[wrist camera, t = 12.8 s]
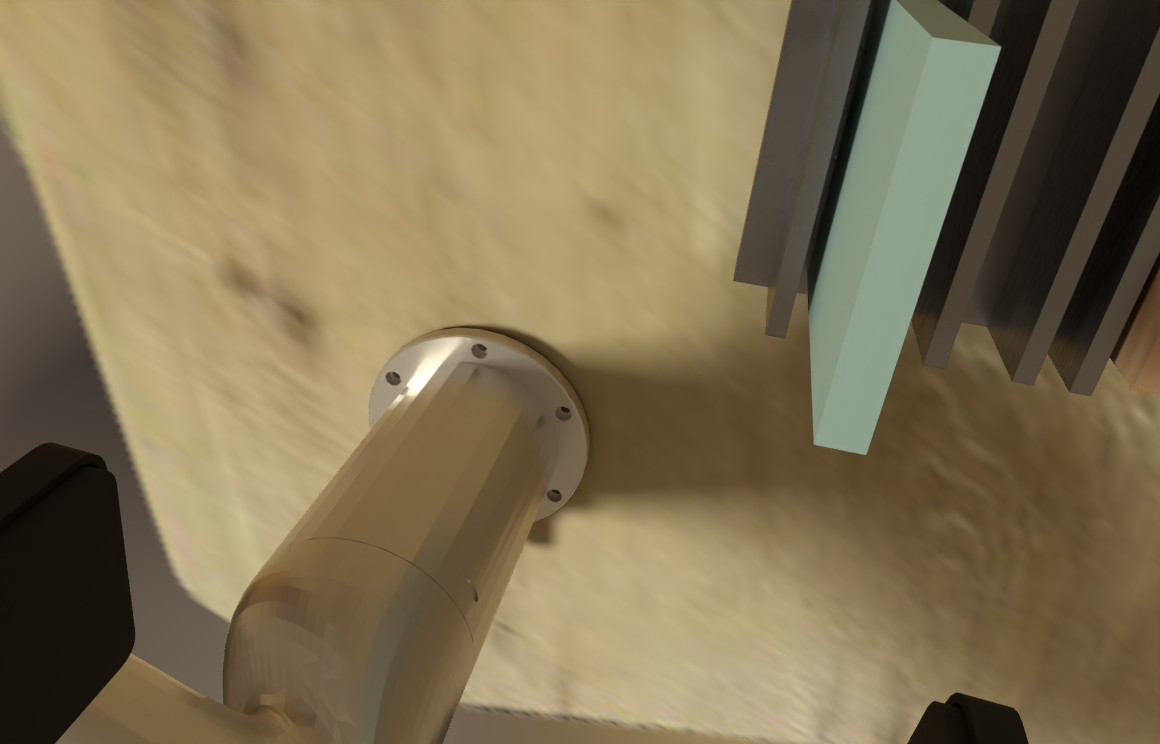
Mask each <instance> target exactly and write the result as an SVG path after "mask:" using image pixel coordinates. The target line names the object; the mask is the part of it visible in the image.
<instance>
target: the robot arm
mask: <svg viewBox="0 0 1160 744" xmlns="http://www.w3.org/2000/svg"><path fill="white" fill-rule="evenodd" d="M481 344H482V345H484V346H485V347H484V346H482V345H481ZM565 407H566V408H565ZM369 425H370V429H371V430H370V432H369V433H368V434H367V435H366V437H365V438H364V439H363V441H362V442H361V443H360V444H359V446H358V447H357V448H356V449H355V451H354V452H353V453H352V454H351V456H350V457H349V458H348V459H347V461H346V462H345V463H344V465H343V466H342V467H341V468H340V470H339V471H338V472H337V473H336V475H335V476H334V477H333V478H332V480H331V481H330V482H329V484H328V485H327V486H326V487H325V489H324V490H323V491H322V492H321V494H320V495H319V496H318V497H317V499H316V500H315V501H314V502H313V504H312V505H311V506H310V508H309V509H308V510H307V511H306V513H305V514H304V515H303V516H302V518H301V519H300V520H299V521H298V523H297V524H296V525H295V526H294V528H293V529H292V530H291V532H290V533H289V534H288V535H287V537H286V538H285V539H284V540H283V542H282V543H281V544H280V545H279V547H278V548H277V549H276V551H275V552H274V553H273V555H272V556H271V557H270V559H269V560H268V561H267V562H266V563H265V565H264V566H263V567H262V568H261V570H260V571H259V572H258V574H257V575H256V576H255V577H254V579H253V580H252V581H251V583H250V584H249V586H248V587H247V589H246V590H245V592H244V593H243V595H242V597H241V599H240V601H239V603H238V605H237V607H236V610H235V612H234V614H233V617H232V620H231V623H230V626H229V630H228V634H227V638H226V642H225V649H224V659H223V671H222V686H223V687H222V690H223V704H221V703H219V702H217V701H215V700H213V699H212V698H210V697H204V696H203V695H201V694H199V693H197V692H196V691H194V690H192V689H190V688H189V687H187V686H185V685H184V684H182V683H180V682H179V681H177V680H175V679H173V678H172V677H170V676H168V675H167V674H165V673H163V672H161V671H160V670H158V669H156V668H155V667H153V666H151V665H150V664H148V663H146V662H145V661H143V660H141V659H139V658H138V657H136V656H134V655H132V654H131V651H132V649H133V646H134V642H135V627H134V619H133V611H132V602H131V594H130V587H129V579H128V571H127V563H126V555H125V547H124V539H123V531H122V523H121V515H120V507H119V499H118V491H117V483H116V479H115V476H114V475H113V474H112V473H111V472H108V471H107V467H106V464H105V461H104V460H103V459H102V458H101V457H100V456H98V455H95V454H92V453H88V452H85V451H81V450H77V449H74V448H70V447H66V446H62V445H59V444H56V443H52V442H51V443H45V444H42V445H40V446H38V447H36V448H35V449H33V450H32V451H30V452H29V453H27V454H26V455H25V456H23V457H22V458H20V459H19V460H18V461H16V462H15V463H13V464H12V465H11V466H9V467H8V468H6V469H5V470H4V471H2V472H1V473H0V744H443V742H444V739H445V737H446V734H447V731H448V729H449V726H450V724H451V721H452V718H453V716H454V713H455V711H456V709H457V706H458V704H459V701H460V699H461V696H462V694H463V691H464V689H465V687H466V684H467V682H468V679H469V677H470V675H471V673H472V670H473V668H474V665H475V663H476V660H477V658H478V656H479V653H480V651H481V648H482V646H483V643H484V641H485V639H486V636H487V634H488V631H489V629H490V626H491V624H492V622H493V619H494V617H495V614H496V612H497V609H498V607H499V605H500V602H501V600H502V597H503V595H504V592H505V590H506V588H507V585H508V583H509V580H510V578H511V575H512V573H513V571H514V568H515V566H516V563H517V561H518V559H519V556H520V554H521V551H522V549H523V546H524V544H525V542H526V539H527V537H528V534H529V532H530V529H531V527H532V525H533V523H534V522H536V521H538V520H540V519H543V518H545V517H547V516H549V515H551V514H552V513H553V512H555V511H556V510H558V509H559V508H560V507H562V506H563V505H564V504H565V503H566V502H567V500H568V499H569V498H570V497H571V496H572V495H573V494H574V492H575V490H576V489H577V487H578V485H579V483H580V481H581V479H582V477H583V474H584V471H585V468H586V465H587V462H588V456H589V449H590V436H589V425H588V422H587V419H586V415H585V412H584V409H583V406H582V404H581V402H580V400H579V398H578V397H577V395H576V393H575V391H574V389H573V387H572V386H571V385H570V384H569V382H568V381H567V380H566V379H565V377H564V376H563V375H562V374H561V372H560V371H559V370H558V369H557V368H556V367H555V366H553V365H552V364H551V363H550V362H549V361H548V360H547V359H546V358H544V357H543V356H542V355H541V354H539V353H537V352H536V351H534V350H533V349H531V348H530V347H528V346H526V345H525V344H523V343H521V342H519V341H516V340H514V339H512V338H509V337H507V336H505V335H502V334H498V333H494V332H490V331H486V330H482V329H470V328H452V329H444V330H437V331H434V332H431V333H428V334H425V335H422V336H419V337H417V338H416V339H414V340H412V341H411V342H409V343H407V344H406V345H404V346H403V347H402V348H401V349H400V350H399V351H398V352H397V353H396V354H395V355H394V356H392V357H391V358H390V360H389V361H388V362H387V363H386V364H385V366H384V367H383V368H382V369H381V371H380V372H379V374H378V377H377V379H376V381H375V383H374V385H373V387H372V391H371V396H370V401H369ZM908 744H1029V743H1028V740H1027V736H1026V733H1025V730H1024V726H1023V723H1022V721H1021V718H1020V716H1019V714H1018V712H1017V711H1016V710H1015V709H1014V708H1012V707H1008V706H1004V705H1001V704H997V703H994V702H990V701H986V700H983V699H979V698H975V697H972V696H968V695H965V694H961V693H955V694H953V695H951V696H950V697H949V699H948V700H947V701H946V703H945V704H944V703H940V702H936V701H934V702H932V703H930V705H929V706H928V708H927V709H926V711H925V713H924V715H923V716H922V718H921V720H920V722H919V724H918V725H917V727H916V729H915V731H914V733H913V735H912V736H911V738H910V740H909V742H908Z"/></svg>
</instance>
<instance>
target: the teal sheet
mask: <svg viewBox="0 0 1160 744" xmlns="http://www.w3.org/2000/svg"><path fill="white" fill-rule="evenodd" d="M1000 50H1001V46H1000V45H998V44H997V43H996V42H994V41H993V40H991V39H990V38H989V37H987V36H986V35H985V34H983V33H982V32H980V31H979V30H978V29H976V28H975V27H974V26H972V25H971V24H969V23H968V22H967V21H965V20H964V19H962V18H961V17H960V16H958V15H957V14H956V13H954V12H953V11H951V10H950V9H949V8H947V7H946V6H945V5H943V4H942V3H940V2H939V1H938V0H877V3H876V7H875V11H874V15H873V19H872V23H871V26H870V30H869V34H868V38H867V42H866V46H865V50H864V54H863V58H862V62H861V66H860V69H859V73H858V77H857V81H856V85H855V89H854V93H853V97H852V101H851V105H850V109H849V113H848V116H847V120H846V124H845V128H844V132H843V136H842V140H841V144H840V148H839V152H838V156H837V159H836V163H835V167H834V171H833V175H832V179H831V183H830V187H829V191H828V195H827V199H826V202H825V206H824V210H823V214H822V218H821V222H820V226H819V230H818V234H817V238H816V242H815V245H814V249H813V253H812V257H811V261H810V265H809V269H808V273H807V286H808V311H809V336H810V361H811V387H812V412H813V437H814V445H818V446H823V447H828V448H833V449H838V450H843V451H848V452H853V453H858V454H863V455H866V454H867V451H868V448H869V445H870V442H871V439H872V436H873V433H874V430H875V427H876V424H877V421H878V418H879V415H880V412H881V409H882V406H883V403H884V400H885V397H886V394H887V391H888V388H889V385H890V382H891V379H892V376H893V373H894V370H895V367H896V364H897V361H898V358H899V355H900V352H901V349H902V346H903V342H904V339H905V336H906V333H907V330H908V327H909V324H910V321H911V318H912V315H913V312H914V309H915V306H916V303H917V300H918V297H919V294H920V291H921V288H922V285H923V282H924V279H925V276H926V273H927V270H928V267H929V264H930V261H931V258H932V255H933V252H934V249H935V246H936V243H937V240H938V237H939V234H940V231H941V228H942V225H943V222H944V219H945V216H946V213H947V210H948V207H949V204H950V201H951V198H952V195H953V192H954V189H955V186H956V183H957V180H958V177H959V174H960V170H961V167H962V164H963V161H964V158H965V155H966V152H967V149H968V146H969V143H970V140H971V137H972V134H973V131H974V128H975V125H976V122H977V119H978V116H979V113H980V110H981V107H982V104H983V101H984V98H985V95H986V92H987V89H988V86H989V83H990V80H991V77H992V74H993V71H994V68H995V65H996V62H997V59H998V56H999V53H1000Z"/></svg>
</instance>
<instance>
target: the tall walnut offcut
mask: <svg viewBox="0 0 1160 744" xmlns="http://www.w3.org/2000/svg"><path fill="white" fill-rule="evenodd" d="M1110 358H1111V360H1112V361H1113V363H1114V364H1115V366H1116V367H1117V368H1118V370H1119V371H1120V373H1121V374H1122V376H1123V377H1124V379H1125V380H1126V382H1127V383H1128V384H1129V386H1130V387H1131V389H1133V390H1138V391H1144V392H1149V393H1154V394H1160V252H1159V254H1158V256H1157V258H1156V260H1155V262H1154V265H1153V267H1152V269H1151V271H1150V273H1149V275H1148V277H1147V279H1146V281H1145V283H1144V286H1143V288H1142V290H1141V292H1140V294H1139V296H1138V298H1137V300H1136V302H1135V305H1134V307H1133V309H1132V311H1131V313H1130V315H1129V317H1128V319H1127V321H1126V323H1125V326H1124V328H1123V330H1122V332H1121V334H1120V336H1119V338H1118V340H1117V342H1116V345H1115V347H1114V349H1113V351H1112V353H1111V355H1110Z"/></svg>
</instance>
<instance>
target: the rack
mask: <svg viewBox="0 0 1160 744" xmlns="http://www.w3.org/2000/svg"><path fill="white" fill-rule="evenodd" d="M938 1H939V2H940V3H942V4H943V5H945V6H946V7H947V8H949V9H950V10H951V11H953V12H954V13H956V14H957V15H958V16H960V17H961V18H962V19H964V20H965V21H967V22H968V23H969V24H971V25H972V26H974V27H975V28H976V29H978V30H979V31H980V32H982V33H983V34H985V35H986V36H987V37H989V38H990V39H991V40H993V41H994V42H996V43H997V44H998V45H1000V46H1001V50H1000V53H999V56H998V59H997V62H996V65H995V68H994V71H993V74H992V77H991V80H990V83H989V86H988V89H987V92H986V95H985V98H984V101H983V104H982V107H981V110H980V113H979V116H978V119H977V122H976V125H975V128H974V131H973V134H972V137H971V140H970V143H969V146H968V149H967V152H966V155H965V158H964V161H963V164H962V167H961V170H960V174H959V177H958V180H957V183H956V186H955V189H954V192H953V195H952V198H951V201H950V204H949V207H948V210H947V213H946V216H945V219H944V222H943V225H942V228H941V231H940V234H939V237H938V240H937V243H936V246H935V249H934V252H933V255H932V258H931V261H930V264H929V267H928V270H927V273H926V276H925V279H924V282H923V285H922V288H921V291H920V294H919V297H918V300H917V303H916V306H915V309H914V312H913V315H912V318H911V322H912V326H913V329H914V333H915V336H916V340H917V343H918V347H919V351H920V354H921V358H922V361H923V365H928V366H933V367H938V368H944V367H945V365H946V362H947V359H948V357H949V354H950V351H951V348H952V346H953V343H954V340H955V337H956V335H957V332H958V329H959V327H960V324H961V322H964V323H969V324H975V325H980V326H986V327H988V329H989V331H990V334H991V336H992V338H993V340H994V342H995V345H996V347H997V349H998V351H999V354H1000V356H1001V358H1002V360H1003V362H1004V365H1005V367H1006V369H1007V371H1008V373H1009V376H1010V378H1011V380H1012V381H1013V382H1018V383H1023V384H1029V385H1034V383H1035V380H1036V378H1037V376H1038V373H1039V371H1040V369H1041V366H1042V364H1043V362H1044V359H1045V357H1046V355H1047V353H1048V355H1049V357H1050V358H1051V360H1052V362H1053V364H1054V365H1055V367H1056V369H1057V371H1058V373H1059V374H1060V376H1061V378H1062V380H1063V382H1064V383H1065V385H1066V387H1067V389H1068V391H1069V392H1071V393H1077V394H1082V395H1087V396H1091V395H1092V393H1093V391H1094V389H1095V387H1096V385H1097V382H1098V380H1099V378H1100V376H1101V374H1102V372H1103V370H1104V368H1105V366H1106V363H1107V361H1108V359H1109V357H1110V355H1111V353H1112V351H1113V349H1114V347H1115V345H1116V342H1117V340H1118V338H1119V336H1120V334H1121V332H1122V330H1123V328H1124V326H1125V323H1126V321H1127V319H1128V317H1129V315H1130V313H1131V311H1132V309H1133V307H1134V305H1135V302H1136V300H1137V298H1138V296H1139V294H1140V292H1141V290H1142V288H1143V286H1144V283H1145V281H1146V279H1147V277H1148V275H1149V273H1150V271H1151V269H1152V267H1153V265H1154V262H1155V260H1156V258H1157V256H1158V254H1159V252H1160V0H938ZM876 3H877V0H792V1H791V6H790V11H789V15H788V20H787V25H786V30H785V34H784V39H783V44H782V49H781V53H780V58H779V63H778V68H777V72H776V77H775V82H774V86H773V91H772V96H771V101H770V105H769V110H768V115H767V120H766V124H765V129H764V134H763V139H762V143H761V148H760V153H759V158H758V162H757V167H756V172H755V177H754V181H753V186H752V191H751V196H750V200H749V205H748V210H747V215H746V219H745V224H744V229H743V234H742V238H741V243H740V248H739V253H738V257H737V262H736V267H735V273H734V279H733V281H737V282H743V283H748V284H754V285H759V286H765V287H768V296H767V313H766V329H765V335H768V336H774V337H779V338H784V339H785V336H786V332H787V328H788V324H789V320H790V316H791V312H792V308H793V304H794V300H795V296H796V293H797V292H798V293H803V294H808V286H807V273H808V269H809V265H810V261H811V257H812V253H813V249H814V245H815V242H816V238H817V234H818V230H819V226H820V222H821V218H822V214H823V210H824V206H825V202H826V199H827V195H828V191H829V187H830V183H831V179H832V175H833V171H834V167H835V163H836V159H837V156H838V152H839V148H840V144H841V140H842V136H843V132H844V128H845V124H846V120H847V116H848V113H849V109H850V105H851V101H852V97H853V93H854V89H855V85H856V81H857V77H858V73H859V69H860V66H861V62H862V58H863V54H864V50H865V46H866V42H867V38H868V34H869V30H870V26H871V23H872V19H873V15H874V11H875V7H876Z"/></svg>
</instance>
